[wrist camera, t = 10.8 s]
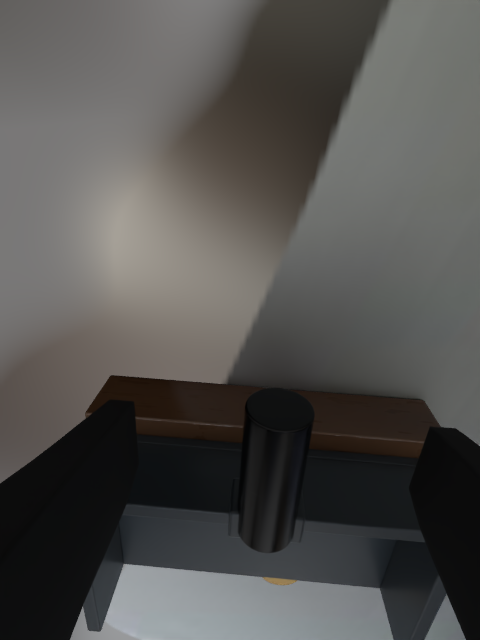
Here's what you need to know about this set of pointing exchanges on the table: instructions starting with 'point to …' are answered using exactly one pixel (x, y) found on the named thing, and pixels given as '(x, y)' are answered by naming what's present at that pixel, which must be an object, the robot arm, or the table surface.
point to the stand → (229, 400)
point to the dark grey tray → (276, 514)
